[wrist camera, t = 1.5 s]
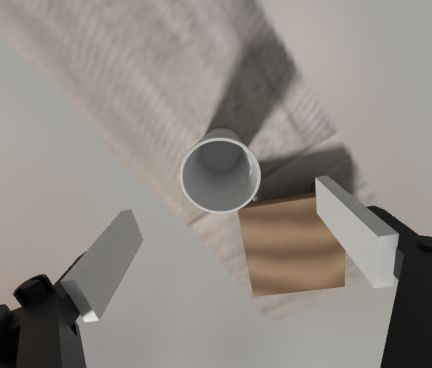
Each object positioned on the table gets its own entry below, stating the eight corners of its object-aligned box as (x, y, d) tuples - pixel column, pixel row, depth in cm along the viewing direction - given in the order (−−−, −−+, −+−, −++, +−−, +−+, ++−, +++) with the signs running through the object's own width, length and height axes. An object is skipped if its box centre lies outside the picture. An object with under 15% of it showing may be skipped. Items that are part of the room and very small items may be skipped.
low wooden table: (235, 191, 35) (237, 209, 30) (326, 176, 34) (346, 192, 28) (249, 269, 41) (253, 296, 36) (327, 259, 40) (344, 286, 34)
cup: (235, 112, 31) (242, 122, 20) (256, 163, 34) (272, 197, 23) (185, 136, 33) (164, 157, 21) (208, 182, 35) (201, 223, 24)
